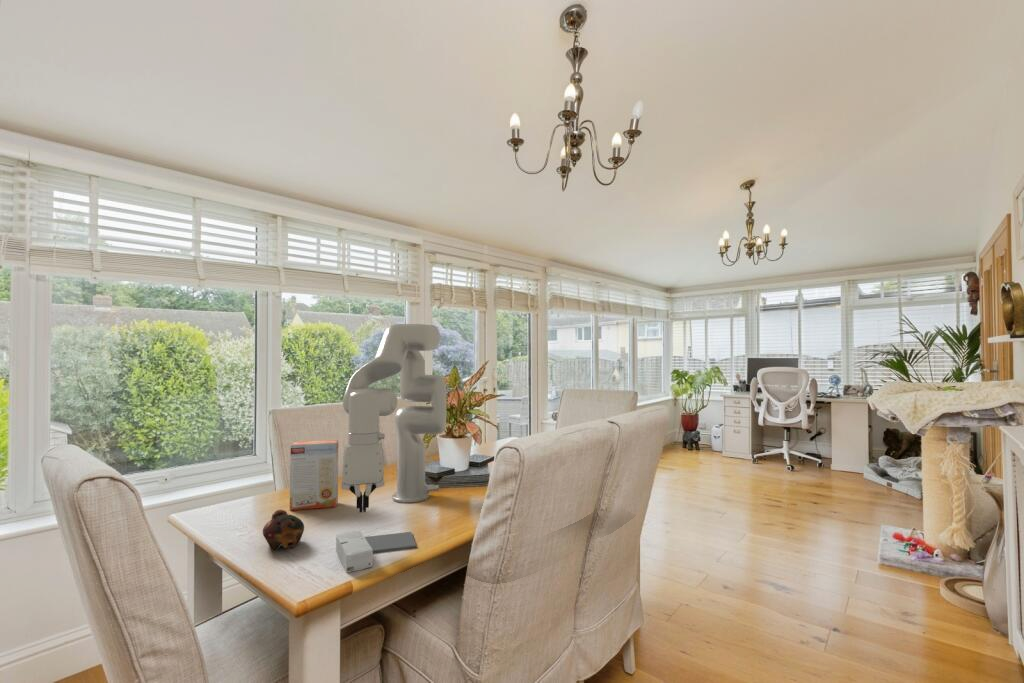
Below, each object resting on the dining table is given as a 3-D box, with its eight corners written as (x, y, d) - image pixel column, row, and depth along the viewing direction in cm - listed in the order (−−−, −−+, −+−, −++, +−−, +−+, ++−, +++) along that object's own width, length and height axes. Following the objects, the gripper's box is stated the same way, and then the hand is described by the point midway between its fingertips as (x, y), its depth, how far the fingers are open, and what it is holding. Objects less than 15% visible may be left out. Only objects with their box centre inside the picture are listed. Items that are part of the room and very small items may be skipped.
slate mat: (411, 533, 130) (411, 531, 130) (415, 547, 121) (415, 545, 121) (353, 540, 125) (353, 538, 125) (353, 555, 116) (353, 552, 116)
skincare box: (360, 529, 120) (374, 547, 109) (359, 546, 120) (374, 566, 109) (334, 534, 116) (346, 554, 106) (334, 552, 116) (346, 573, 106)
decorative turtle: (292, 533, 130) (295, 504, 131) (312, 553, 119) (315, 521, 119) (253, 540, 124) (256, 509, 124) (270, 563, 113) (274, 529, 113)
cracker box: (338, 502, 158) (339, 439, 159) (335, 507, 152) (337, 442, 153) (292, 505, 155) (294, 440, 156) (288, 511, 149) (290, 444, 150)
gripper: (392, 435, 128) (391, 503, 128) (333, 438, 123) (332, 509, 123) (394, 440, 121) (393, 512, 120) (332, 443, 116) (330, 518, 116)
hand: (362, 510), depth 122 cm, fingers closed
